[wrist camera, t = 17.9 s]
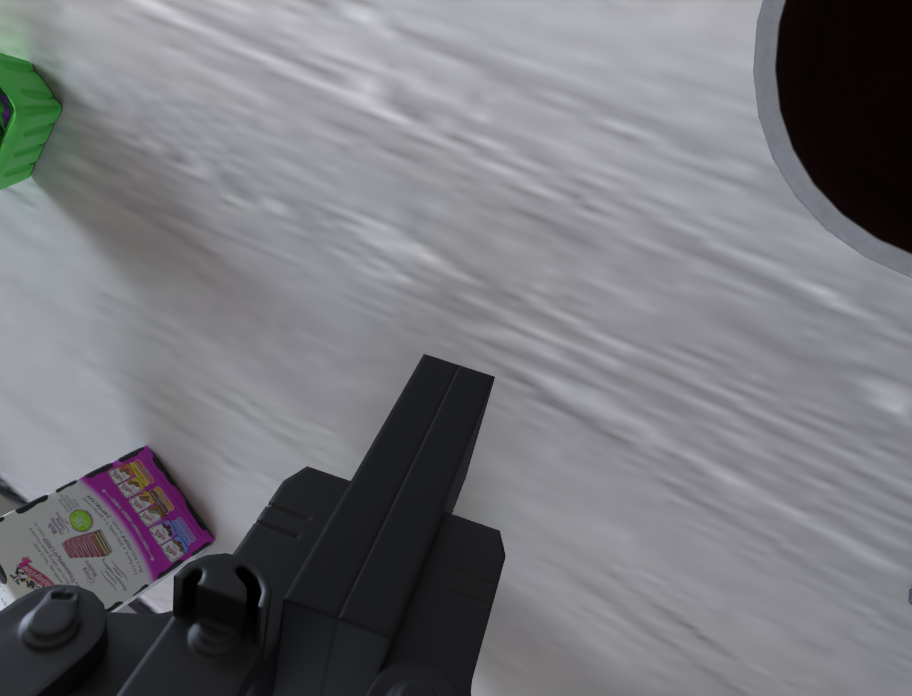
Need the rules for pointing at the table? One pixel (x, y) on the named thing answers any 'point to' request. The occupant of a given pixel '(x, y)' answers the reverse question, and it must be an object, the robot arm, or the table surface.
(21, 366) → the table surface
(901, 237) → the mate gourd
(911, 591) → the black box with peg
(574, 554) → the table surface
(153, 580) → the candy bar box
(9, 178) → the fruit basket
